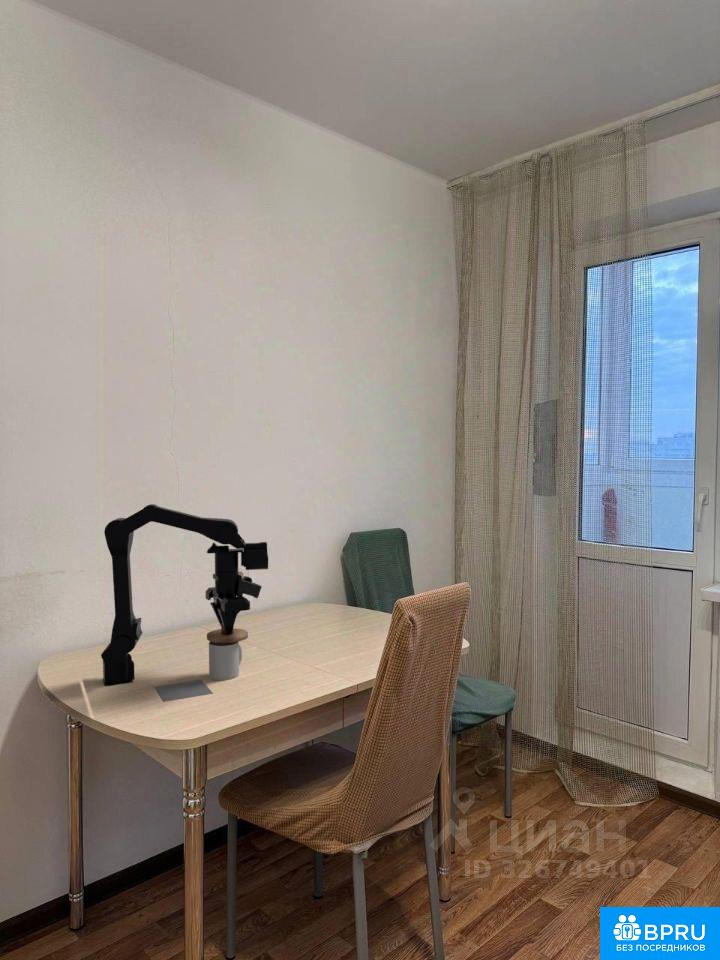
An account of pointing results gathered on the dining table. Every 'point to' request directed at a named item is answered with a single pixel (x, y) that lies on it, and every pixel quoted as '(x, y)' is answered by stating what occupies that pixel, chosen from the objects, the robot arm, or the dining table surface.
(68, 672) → the dining table surface
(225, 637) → the lid
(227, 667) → the cup
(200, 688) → the mat
